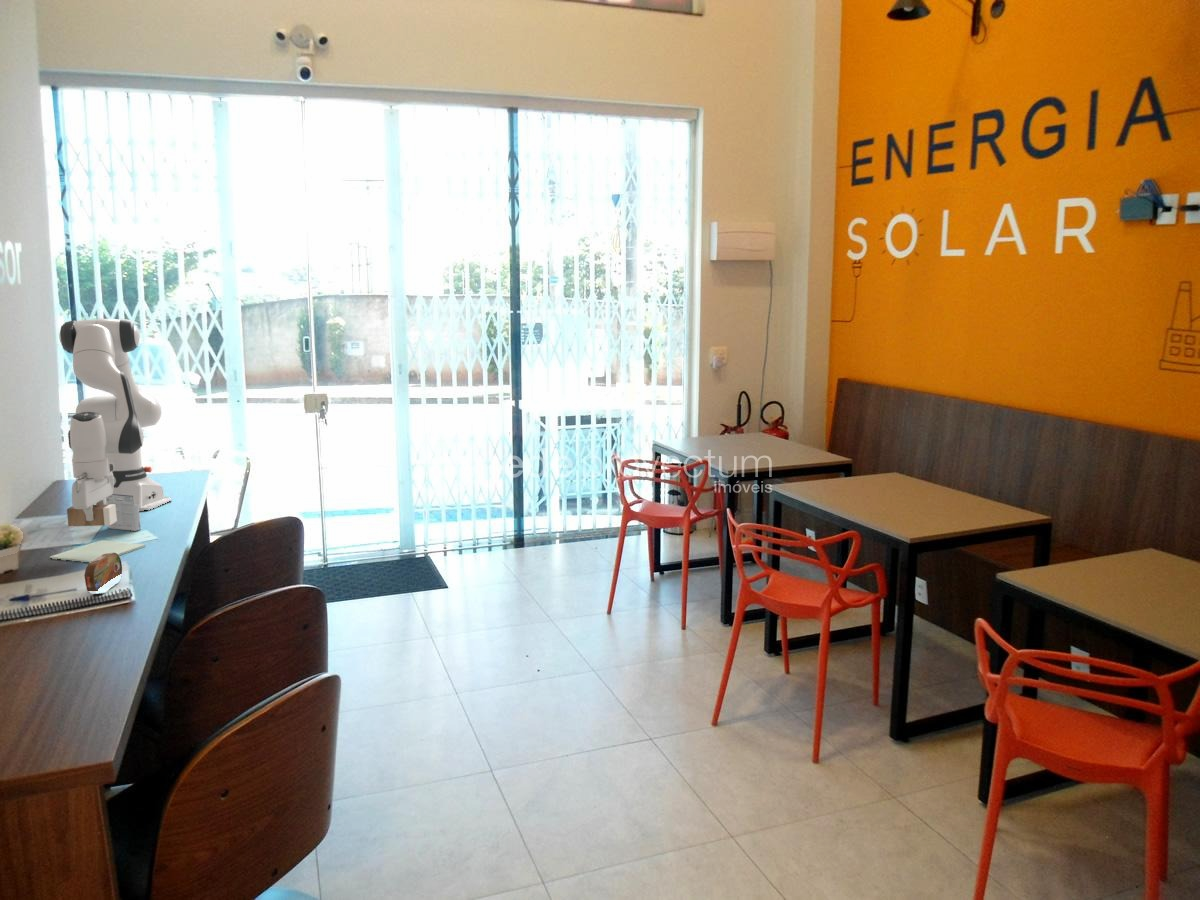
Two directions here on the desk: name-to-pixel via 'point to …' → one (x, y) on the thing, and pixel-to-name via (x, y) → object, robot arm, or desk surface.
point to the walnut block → (103, 516)
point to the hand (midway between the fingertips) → (95, 517)
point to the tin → (102, 571)
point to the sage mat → (97, 550)
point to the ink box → (125, 513)
